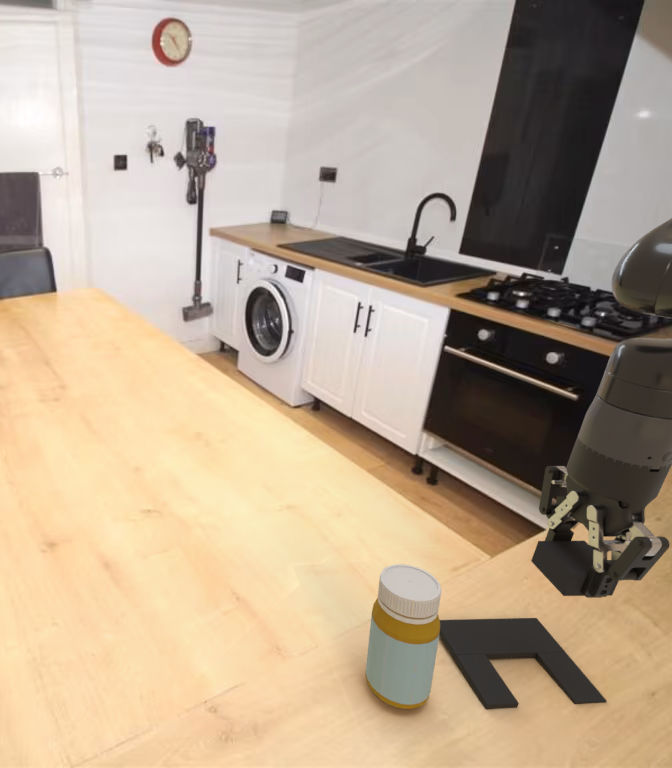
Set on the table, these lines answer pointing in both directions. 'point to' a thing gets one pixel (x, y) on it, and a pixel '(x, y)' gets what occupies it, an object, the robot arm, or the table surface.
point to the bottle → (404, 636)
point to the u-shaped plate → (508, 641)
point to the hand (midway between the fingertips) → (571, 574)
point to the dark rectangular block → (565, 564)
